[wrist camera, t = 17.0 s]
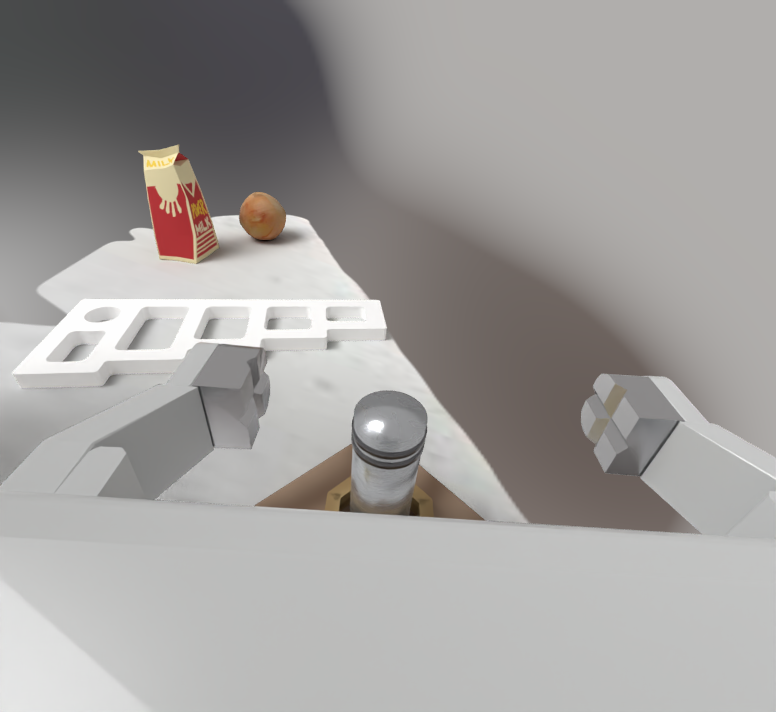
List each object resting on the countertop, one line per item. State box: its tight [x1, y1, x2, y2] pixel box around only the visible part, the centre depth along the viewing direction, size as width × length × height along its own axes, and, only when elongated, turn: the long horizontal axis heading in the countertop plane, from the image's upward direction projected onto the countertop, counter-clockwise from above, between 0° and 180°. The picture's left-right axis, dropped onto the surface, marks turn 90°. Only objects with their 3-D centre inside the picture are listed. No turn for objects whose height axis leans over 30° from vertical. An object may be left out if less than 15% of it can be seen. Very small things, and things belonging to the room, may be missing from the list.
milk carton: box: [139, 145, 219, 264], centre depth 76 cm, size 9×9×20 cm
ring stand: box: [255, 444, 485, 521], centre depth 35 cm, size 18×16×3 cm
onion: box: [239, 192, 286, 240], centre depth 88 cm, size 10×10×10 cm
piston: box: [350, 391, 427, 516], centre depth 31 cm, size 5×5×14 cm
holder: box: [12, 299, 387, 389], centre depth 58 cm, size 45×18×3 cm, turn 98°
